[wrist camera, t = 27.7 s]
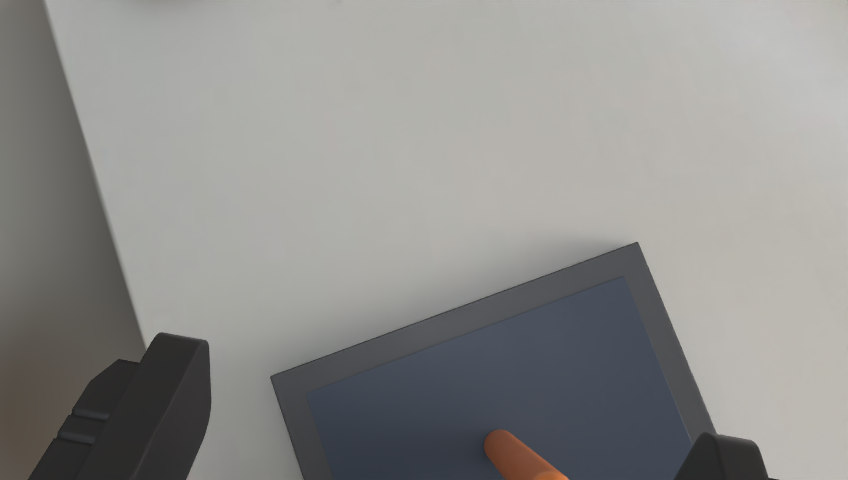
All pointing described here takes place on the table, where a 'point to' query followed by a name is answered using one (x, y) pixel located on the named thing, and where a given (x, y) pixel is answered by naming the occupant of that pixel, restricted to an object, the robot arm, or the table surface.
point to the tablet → (508, 386)
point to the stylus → (517, 459)
